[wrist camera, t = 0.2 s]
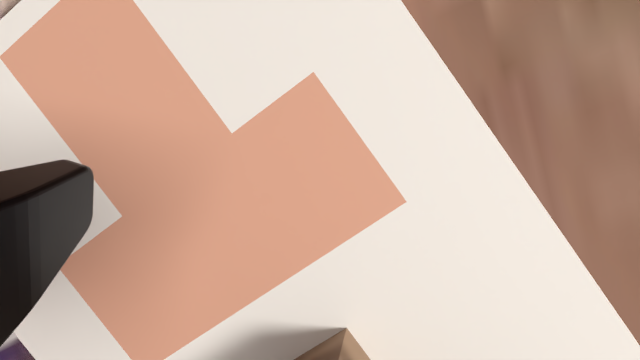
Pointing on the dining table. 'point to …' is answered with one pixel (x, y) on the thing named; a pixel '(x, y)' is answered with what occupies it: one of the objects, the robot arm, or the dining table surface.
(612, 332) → the push board
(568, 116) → the dining table surface
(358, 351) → the t block
